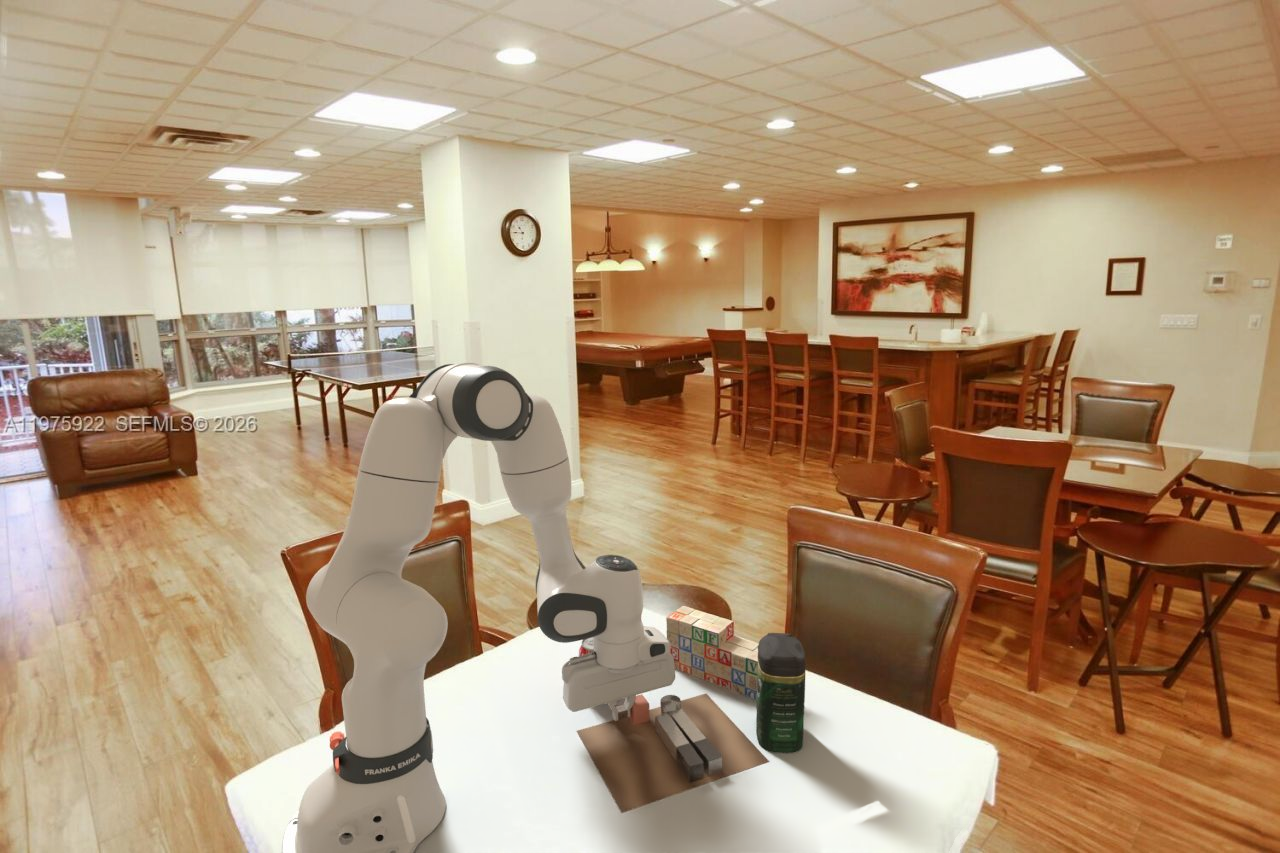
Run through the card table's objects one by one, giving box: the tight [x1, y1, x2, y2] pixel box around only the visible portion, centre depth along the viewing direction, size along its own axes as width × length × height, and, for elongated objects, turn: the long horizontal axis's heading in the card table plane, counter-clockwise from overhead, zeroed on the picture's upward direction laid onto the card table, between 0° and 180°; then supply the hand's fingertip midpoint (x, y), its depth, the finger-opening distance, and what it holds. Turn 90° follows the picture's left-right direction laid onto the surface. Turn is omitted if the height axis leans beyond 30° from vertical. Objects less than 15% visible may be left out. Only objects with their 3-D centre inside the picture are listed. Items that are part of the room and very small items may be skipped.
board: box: [576, 693, 770, 814], centre depth 116 cm, size 26×21×1 cm
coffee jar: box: [755, 632, 807, 754], centre depth 116 cm, size 10×8×19 cm
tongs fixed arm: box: [670, 709, 722, 777], centre depth 114 cm, size 2×14×3 cm, turn 24°
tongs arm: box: [655, 694, 704, 783], centre depth 116 cm, size 6×18×4 cm, turn 22°
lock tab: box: [629, 694, 650, 725], centre depth 123 cm, size 3×3×4 cm
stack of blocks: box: [666, 605, 759, 701], centre depth 135 cm, size 21×6×12 cm, turn 52°
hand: (621, 717), depth 121 cm, fingers closed
